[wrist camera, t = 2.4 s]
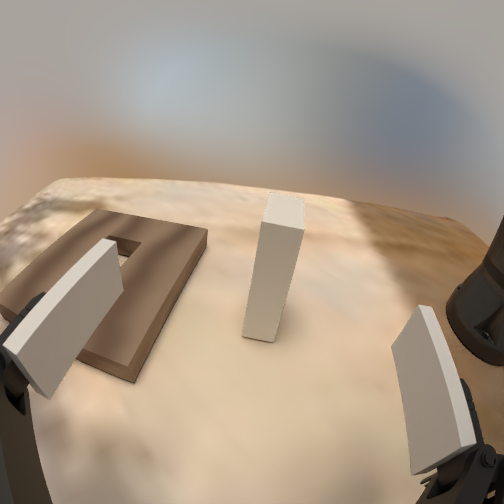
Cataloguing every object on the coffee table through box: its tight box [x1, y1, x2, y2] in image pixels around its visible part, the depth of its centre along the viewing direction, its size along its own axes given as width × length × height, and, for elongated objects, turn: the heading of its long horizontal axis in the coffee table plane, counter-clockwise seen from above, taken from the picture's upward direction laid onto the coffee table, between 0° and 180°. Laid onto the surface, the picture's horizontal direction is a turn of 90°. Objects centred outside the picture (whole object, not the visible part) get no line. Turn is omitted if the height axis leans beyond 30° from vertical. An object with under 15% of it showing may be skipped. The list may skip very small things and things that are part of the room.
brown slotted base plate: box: [0, 209, 208, 383], centre depth 29 cm, size 18×22×2 cm
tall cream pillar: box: [242, 192, 305, 342], centre depth 25 cm, size 3×6×12 cm, turn 171°
